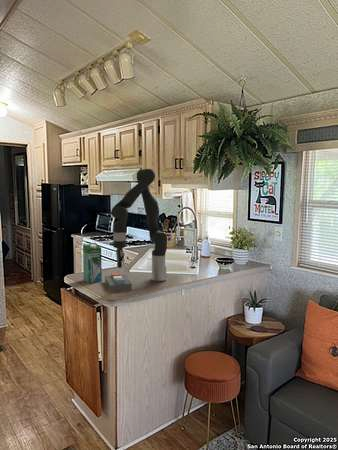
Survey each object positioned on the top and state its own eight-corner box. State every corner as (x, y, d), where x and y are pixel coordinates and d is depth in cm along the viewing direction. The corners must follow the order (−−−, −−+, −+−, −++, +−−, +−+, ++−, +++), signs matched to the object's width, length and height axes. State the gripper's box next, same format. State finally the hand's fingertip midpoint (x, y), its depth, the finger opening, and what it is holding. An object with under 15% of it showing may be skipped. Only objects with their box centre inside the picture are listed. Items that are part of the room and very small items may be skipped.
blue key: (123, 282, 205) (123, 277, 205) (124, 284, 201) (124, 279, 200) (115, 282, 204) (115, 278, 203) (116, 285, 199) (116, 280, 199)
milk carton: (88, 283, 213) (88, 245, 210) (83, 280, 221) (82, 243, 218) (101, 281, 219) (101, 244, 216) (96, 278, 226) (95, 242, 223)
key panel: (124, 280, 222) (124, 274, 221) (131, 290, 201) (131, 283, 201) (105, 281, 217) (104, 276, 217) (110, 292, 197) (110, 285, 196)
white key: (120, 280, 212) (120, 275, 212) (122, 282, 207) (122, 277, 207) (113, 280, 211) (113, 276, 210) (114, 283, 206) (114, 278, 205)
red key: (118, 276, 219) (118, 272, 218) (120, 278, 214) (120, 274, 214) (111, 277, 217) (111, 273, 217) (112, 279, 213) (112, 275, 212)
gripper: (128, 241, 194) (127, 269, 196) (123, 237, 206) (123, 264, 208) (115, 241, 191) (115, 270, 193) (111, 238, 204) (111, 265, 206)
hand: (119, 267), depth 201 cm, fingers closed
